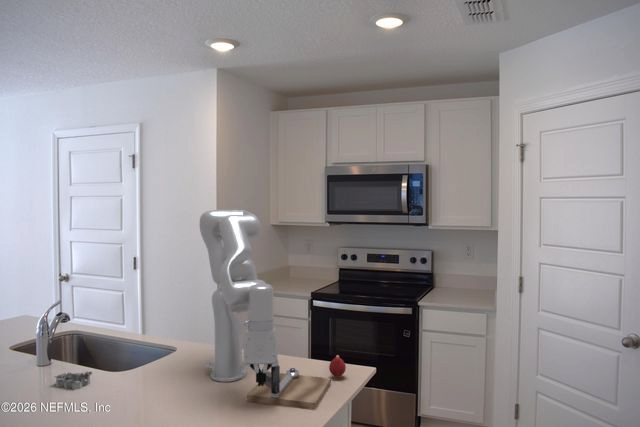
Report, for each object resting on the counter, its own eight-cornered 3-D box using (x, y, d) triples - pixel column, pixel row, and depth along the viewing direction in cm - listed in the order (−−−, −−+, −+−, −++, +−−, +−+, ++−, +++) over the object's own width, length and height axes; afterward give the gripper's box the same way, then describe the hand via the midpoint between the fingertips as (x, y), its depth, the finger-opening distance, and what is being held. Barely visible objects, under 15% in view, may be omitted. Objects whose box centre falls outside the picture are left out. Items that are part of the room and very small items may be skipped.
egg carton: (94, 383, 159) (94, 371, 159) (75, 391, 152) (75, 379, 152) (71, 378, 163) (71, 367, 163) (51, 386, 156) (51, 374, 156)
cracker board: (247, 401, 145) (247, 383, 145) (270, 377, 164) (270, 361, 164) (315, 409, 139) (315, 391, 139) (330, 384, 159) (330, 367, 158)
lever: (288, 372, 163) (288, 346, 162) (300, 374, 161) (300, 347, 161) (267, 396, 143) (267, 367, 142) (280, 398, 142) (280, 368, 141)
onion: (344, 381, 161) (344, 358, 160) (327, 380, 162) (327, 357, 162) (346, 375, 166) (346, 353, 166) (330, 374, 168) (330, 352, 167)
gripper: (234, 328, 138) (234, 389, 138) (285, 328, 139) (285, 389, 139) (237, 322, 145) (238, 380, 146) (285, 321, 146) (285, 379, 147)
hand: (261, 384), depth 143 cm, fingers closed
